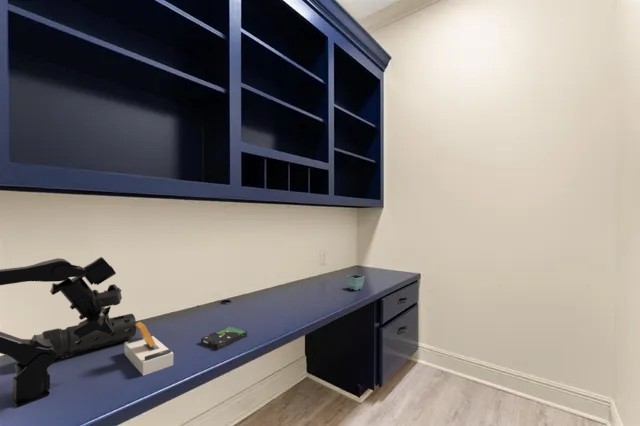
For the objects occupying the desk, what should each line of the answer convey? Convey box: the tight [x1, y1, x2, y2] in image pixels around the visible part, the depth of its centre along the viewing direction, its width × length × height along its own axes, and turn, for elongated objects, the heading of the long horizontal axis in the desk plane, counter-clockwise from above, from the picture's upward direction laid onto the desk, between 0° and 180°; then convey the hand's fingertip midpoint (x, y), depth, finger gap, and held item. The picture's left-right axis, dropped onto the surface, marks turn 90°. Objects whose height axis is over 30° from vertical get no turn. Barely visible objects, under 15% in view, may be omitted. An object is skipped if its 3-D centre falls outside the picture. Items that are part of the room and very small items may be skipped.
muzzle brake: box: [36, 313, 137, 359], centre depth 108 cm, size 10×28×10 cm, turn 139°
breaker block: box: [123, 333, 174, 376], centre depth 102 cm, size 9×20×5 cm, turn 47°
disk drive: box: [200, 326, 248, 351], centre depth 119 cm, size 10×3×15 cm
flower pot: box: [346, 274, 365, 291], centre depth 200 cm, size 9×9×9 cm
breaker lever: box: [135, 321, 156, 349], centre depth 102 cm, size 2×6×9 cm, turn 47°
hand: (111, 332), depth 94 cm, fingers closed
